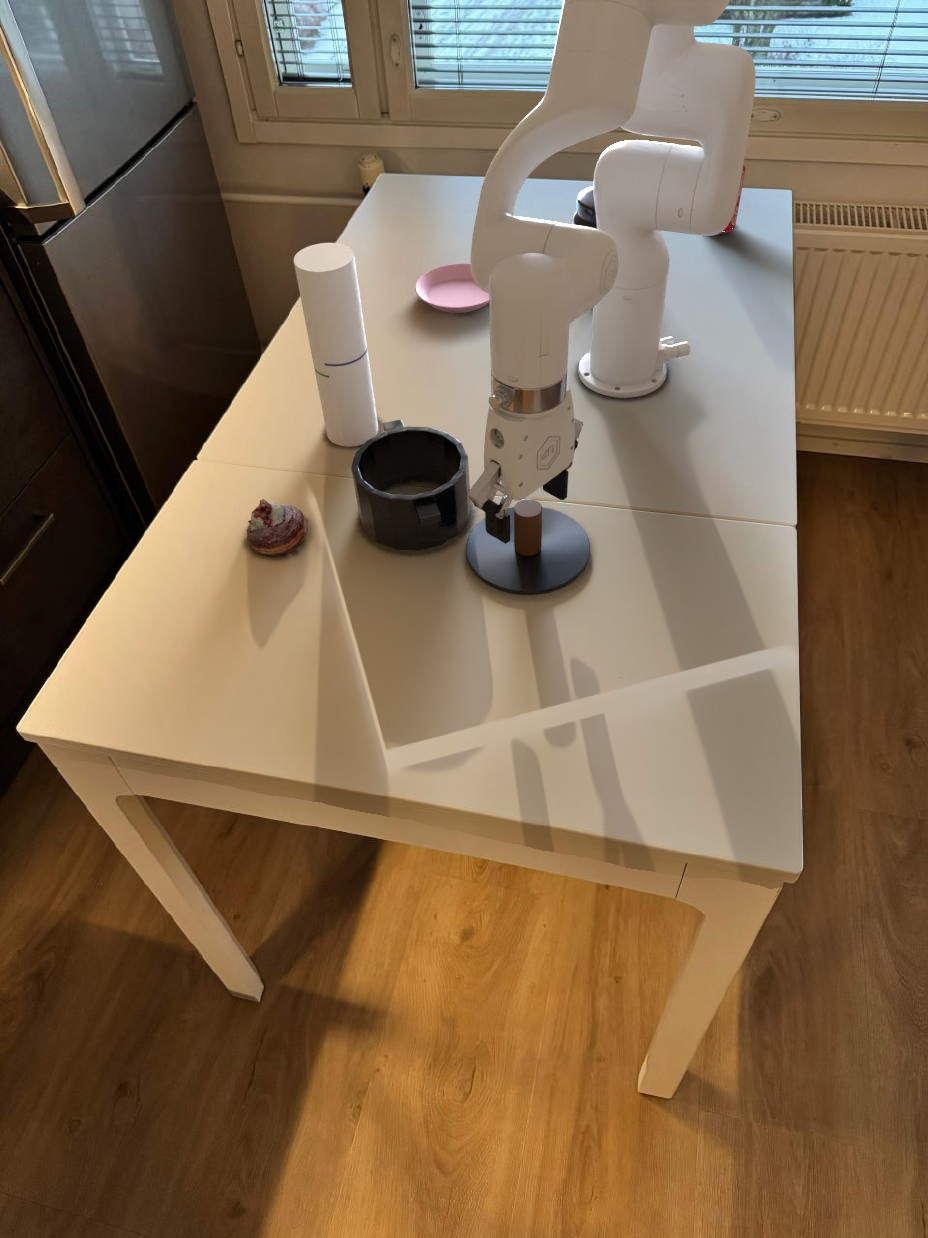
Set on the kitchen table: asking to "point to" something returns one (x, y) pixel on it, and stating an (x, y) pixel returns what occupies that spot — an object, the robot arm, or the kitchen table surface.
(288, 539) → the pastry
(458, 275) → the plate
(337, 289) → the cylindrical container
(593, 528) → the kitchen table surface
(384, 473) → the pot
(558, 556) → the lid
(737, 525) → the kitchen table surface
